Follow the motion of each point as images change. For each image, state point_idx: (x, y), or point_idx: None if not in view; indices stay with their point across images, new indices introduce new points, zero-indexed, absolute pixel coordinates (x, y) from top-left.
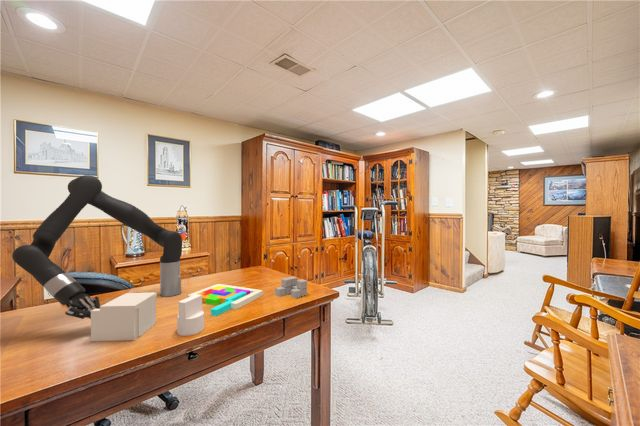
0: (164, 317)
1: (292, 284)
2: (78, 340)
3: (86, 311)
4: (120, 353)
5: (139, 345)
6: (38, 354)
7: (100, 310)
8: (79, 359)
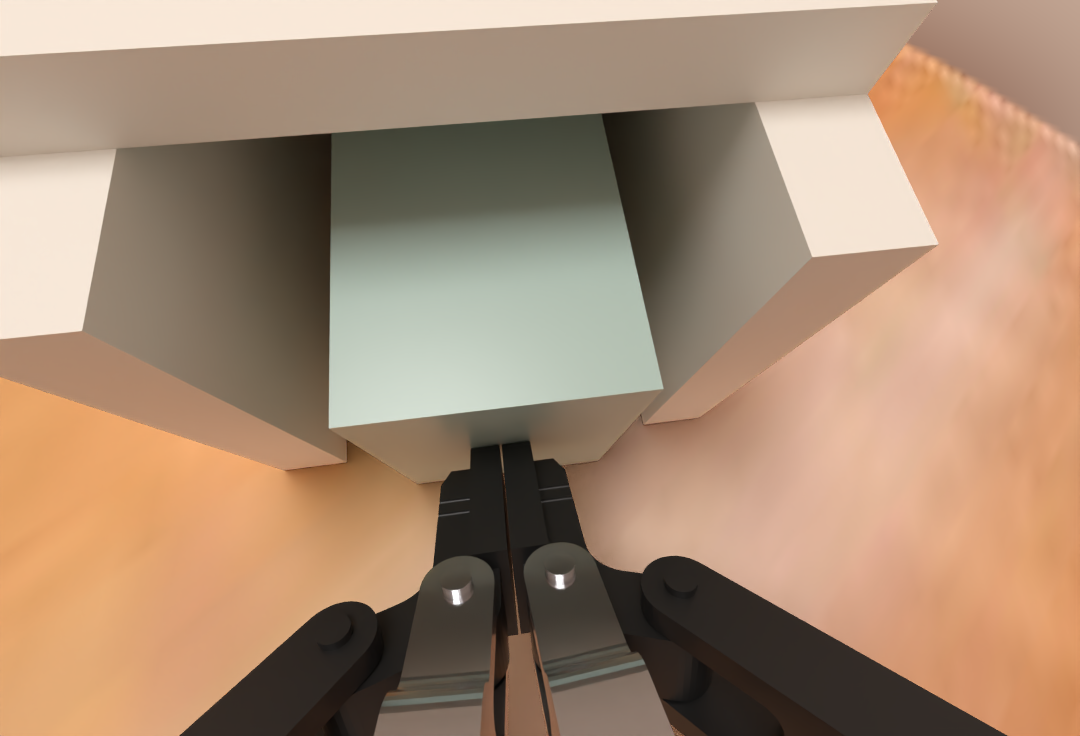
0: None
1: None
2: None
3: (687, 615)
4: None
5: None
6: (1018, 721)
7: (868, 81)
8: (934, 271)
